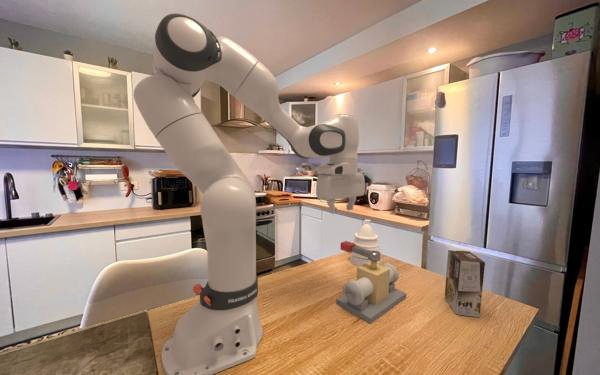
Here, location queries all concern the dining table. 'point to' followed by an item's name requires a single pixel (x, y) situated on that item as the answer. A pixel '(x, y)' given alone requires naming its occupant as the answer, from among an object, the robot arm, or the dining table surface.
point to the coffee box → (464, 282)
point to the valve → (371, 291)
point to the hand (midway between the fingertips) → (341, 211)
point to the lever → (360, 251)
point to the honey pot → (365, 244)
